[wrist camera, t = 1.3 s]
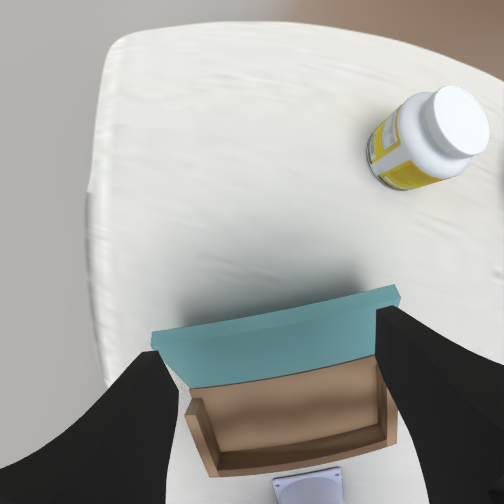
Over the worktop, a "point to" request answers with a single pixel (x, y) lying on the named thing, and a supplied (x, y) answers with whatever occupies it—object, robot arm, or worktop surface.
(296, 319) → the teal box lid
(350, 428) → the wooden box
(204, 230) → the worktop surface
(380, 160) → the pill bottle
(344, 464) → the worktop surface
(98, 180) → the worktop surface
